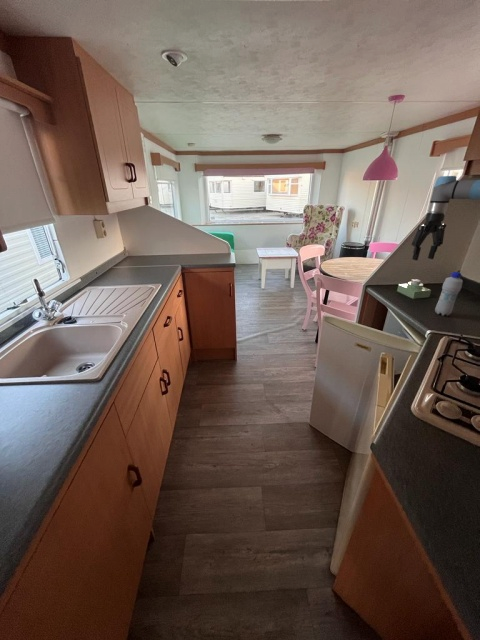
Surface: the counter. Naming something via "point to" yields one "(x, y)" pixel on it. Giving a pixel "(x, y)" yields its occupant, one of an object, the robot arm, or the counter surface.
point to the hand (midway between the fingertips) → (422, 259)
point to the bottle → (449, 294)
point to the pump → (416, 282)
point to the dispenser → (414, 290)
